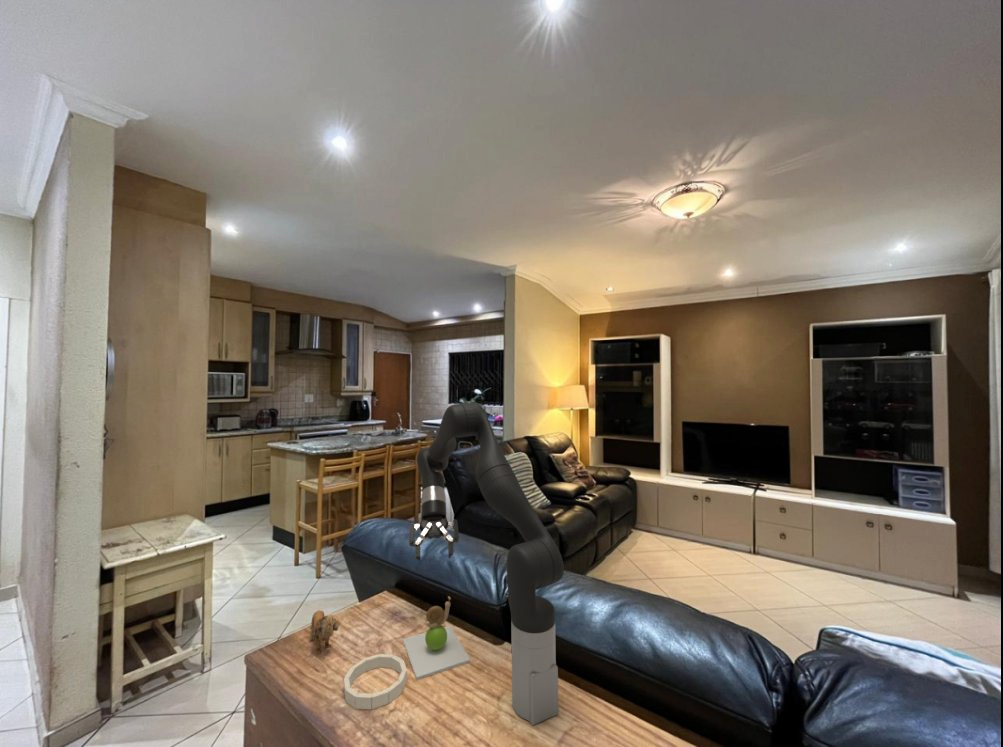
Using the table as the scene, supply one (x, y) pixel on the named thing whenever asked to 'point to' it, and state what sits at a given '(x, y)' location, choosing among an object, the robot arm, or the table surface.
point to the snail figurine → (437, 626)
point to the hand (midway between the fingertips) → (434, 558)
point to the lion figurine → (322, 629)
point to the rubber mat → (434, 654)
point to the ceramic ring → (382, 696)
